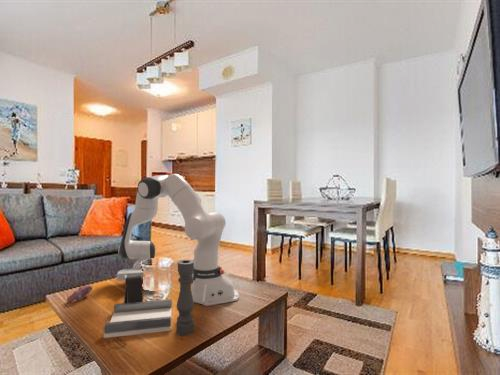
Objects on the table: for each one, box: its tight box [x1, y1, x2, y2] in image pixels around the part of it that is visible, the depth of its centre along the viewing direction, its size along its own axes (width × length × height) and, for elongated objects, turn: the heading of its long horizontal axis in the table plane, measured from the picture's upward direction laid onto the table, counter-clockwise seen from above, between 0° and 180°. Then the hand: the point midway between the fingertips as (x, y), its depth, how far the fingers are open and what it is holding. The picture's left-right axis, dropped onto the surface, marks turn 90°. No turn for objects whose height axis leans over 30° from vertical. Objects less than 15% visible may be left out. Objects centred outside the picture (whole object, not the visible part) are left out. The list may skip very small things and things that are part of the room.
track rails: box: [103, 298, 173, 335], centre depth 108 cm, size 22×17×3 cm
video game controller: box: [66, 284, 93, 303], centre depth 128 cm, size 10×5×7 cm, turn 169°
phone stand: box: [123, 276, 144, 303], centre depth 123 cm, size 9×6×12 cm, turn 34°
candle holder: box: [175, 259, 195, 337], centre depth 102 cm, size 6×6×25 cm
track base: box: [103, 308, 173, 339], centre depth 109 cm, size 22×19×1 cm
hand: (137, 279), depth 134 cm, fingers open, 8 cm apart
